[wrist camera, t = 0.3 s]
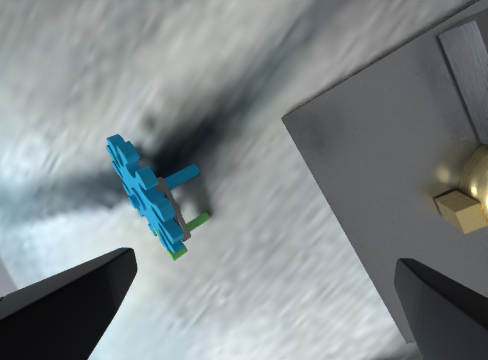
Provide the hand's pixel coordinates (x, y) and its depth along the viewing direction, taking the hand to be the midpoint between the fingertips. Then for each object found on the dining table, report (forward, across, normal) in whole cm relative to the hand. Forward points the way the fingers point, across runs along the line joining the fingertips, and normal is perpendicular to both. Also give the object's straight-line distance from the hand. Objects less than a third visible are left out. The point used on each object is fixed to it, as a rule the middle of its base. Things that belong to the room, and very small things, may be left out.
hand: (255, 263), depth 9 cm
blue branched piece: (+14, +10, +2) cm, 17 cm away
